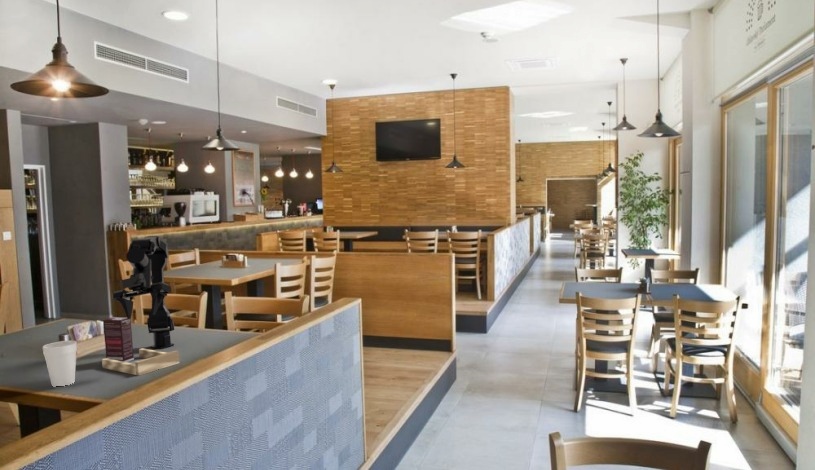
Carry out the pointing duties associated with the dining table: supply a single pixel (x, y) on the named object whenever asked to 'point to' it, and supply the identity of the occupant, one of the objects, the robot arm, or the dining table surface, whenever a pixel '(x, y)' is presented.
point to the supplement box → (118, 339)
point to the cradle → (144, 362)
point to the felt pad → (136, 361)
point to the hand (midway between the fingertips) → (141, 316)
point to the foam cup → (61, 362)
